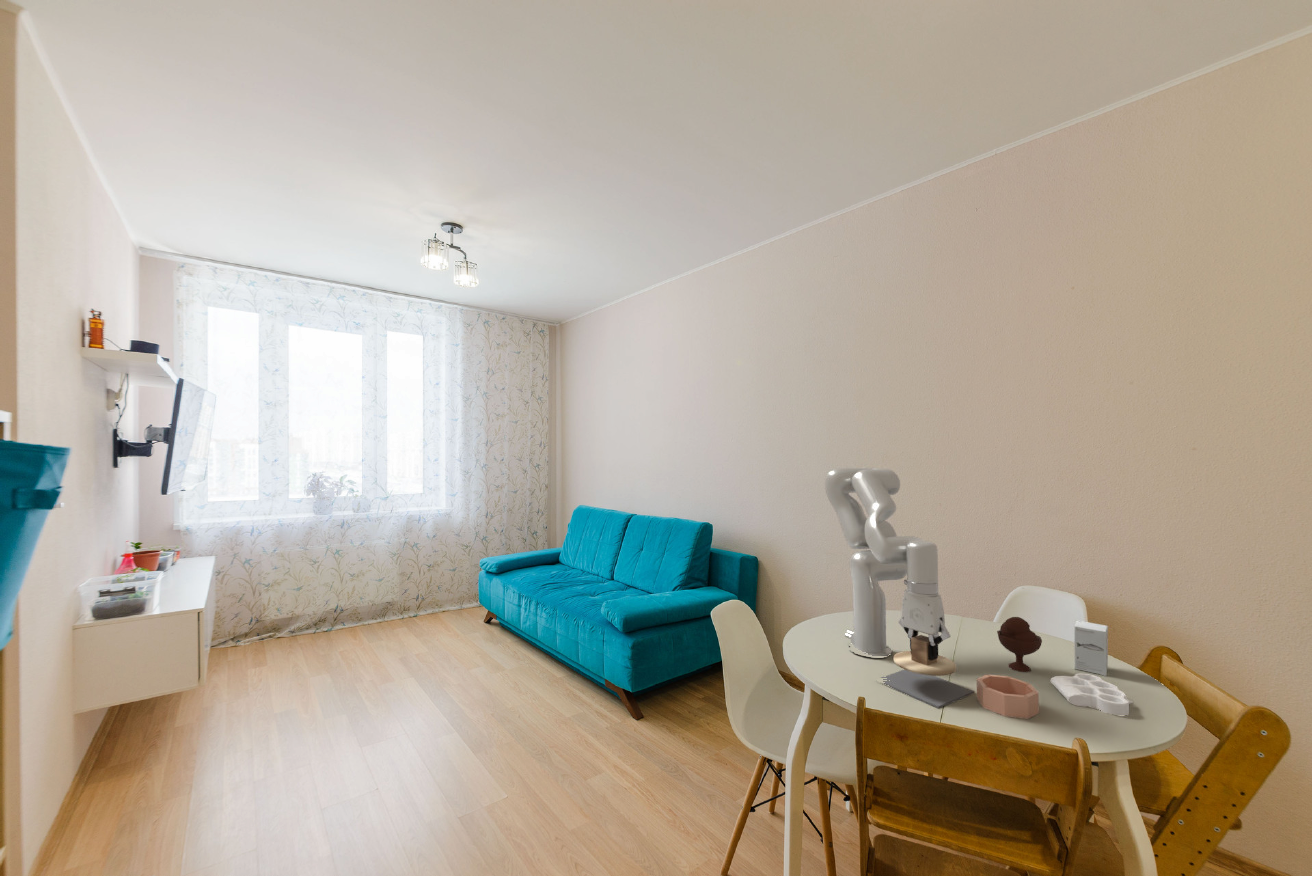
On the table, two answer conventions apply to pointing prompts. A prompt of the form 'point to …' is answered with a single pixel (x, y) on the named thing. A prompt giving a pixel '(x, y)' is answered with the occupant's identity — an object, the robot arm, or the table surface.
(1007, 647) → the ice cream bowl
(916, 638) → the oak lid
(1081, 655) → the supplement box
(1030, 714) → the terracotta bowl
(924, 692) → the rubber mat
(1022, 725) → the table surface
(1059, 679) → the white holed part
